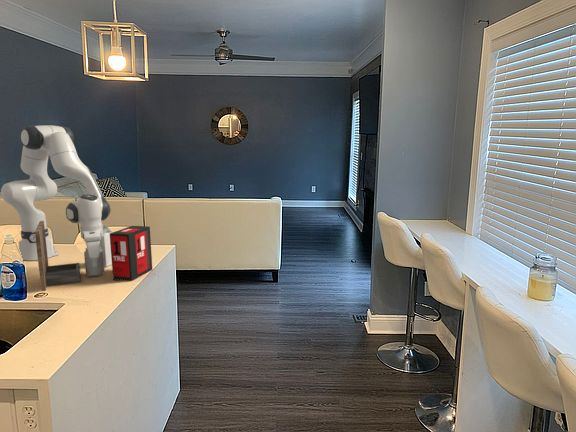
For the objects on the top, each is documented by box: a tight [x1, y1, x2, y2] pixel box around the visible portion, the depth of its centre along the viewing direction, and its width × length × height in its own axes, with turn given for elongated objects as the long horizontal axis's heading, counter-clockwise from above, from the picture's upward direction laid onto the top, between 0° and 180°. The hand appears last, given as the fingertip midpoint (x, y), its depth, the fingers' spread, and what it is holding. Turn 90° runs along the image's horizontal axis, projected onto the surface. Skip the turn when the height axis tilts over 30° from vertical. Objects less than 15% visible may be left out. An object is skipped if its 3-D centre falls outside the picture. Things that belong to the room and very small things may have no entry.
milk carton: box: [99, 224, 114, 268], centre depth 215 cm, size 7×7×19 cm
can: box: [83, 247, 105, 277], centre depth 199 cm, size 8×8×12 cm
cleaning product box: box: [110, 225, 153, 282], centre depth 199 cm, size 16×9×20 cm, turn 166°
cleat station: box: [35, 221, 81, 292], centre depth 192 cm, size 24×14×24 cm, turn 24°
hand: (94, 263), depth 200 cm, fingers closed on can, 7 cm apart
